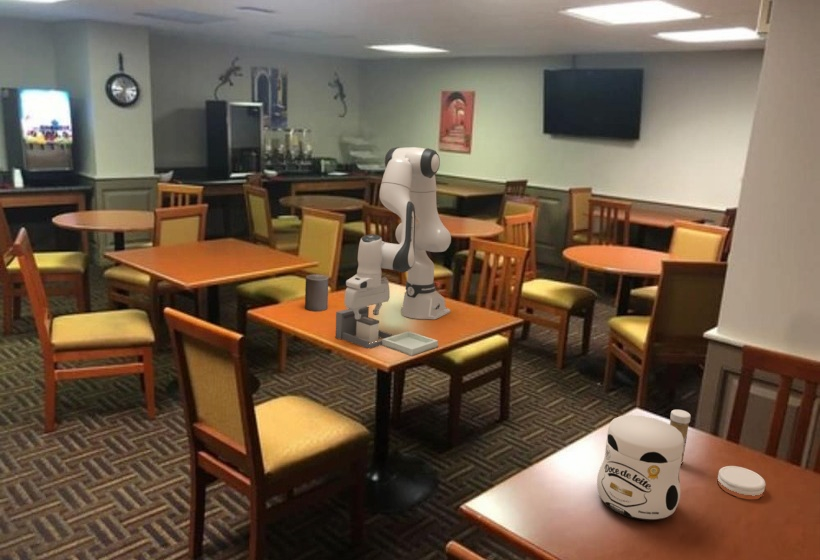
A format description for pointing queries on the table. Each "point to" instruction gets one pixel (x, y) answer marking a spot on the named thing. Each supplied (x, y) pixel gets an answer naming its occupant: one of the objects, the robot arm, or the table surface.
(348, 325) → the bay
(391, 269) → the robot arm
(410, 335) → the tray
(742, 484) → the white round piece
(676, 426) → the sprinkles bottle
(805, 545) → the table surface
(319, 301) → the pillar candle
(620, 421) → the doce de leite jar
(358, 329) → the block
